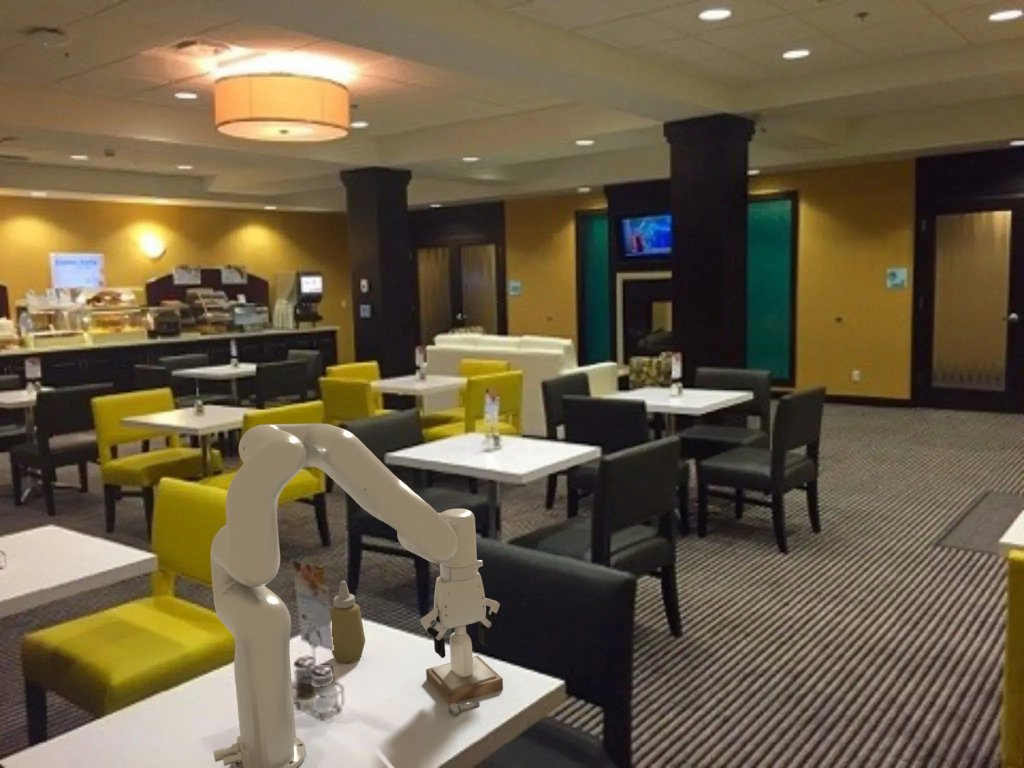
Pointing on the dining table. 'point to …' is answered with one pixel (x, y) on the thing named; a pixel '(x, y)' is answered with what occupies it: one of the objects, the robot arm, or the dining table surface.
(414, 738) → the dining table surface
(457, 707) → the loose bolt
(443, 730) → the dining table surface
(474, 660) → the picture frame
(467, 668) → the eye dropper bottle
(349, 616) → the squeeze bottle
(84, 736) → the dining table surface
